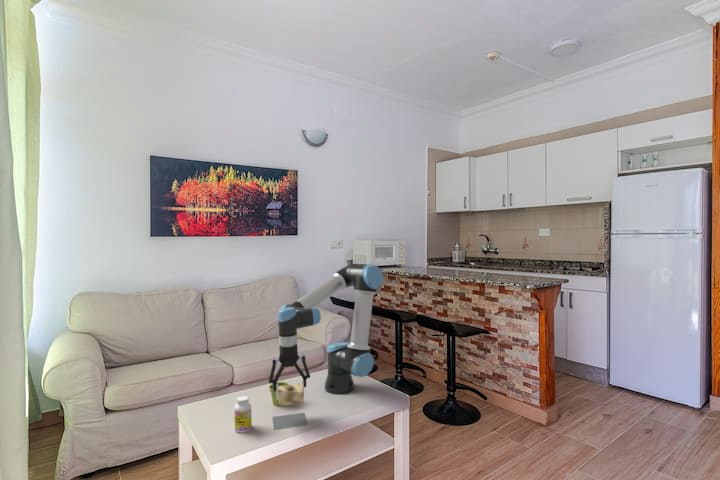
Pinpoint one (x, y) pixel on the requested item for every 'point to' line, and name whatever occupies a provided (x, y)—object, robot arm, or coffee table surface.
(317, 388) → the coffee table surface
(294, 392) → the lid
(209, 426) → the coffee table surface
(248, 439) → the coffee table surface
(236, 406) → the supplement bottle
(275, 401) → the plant pot
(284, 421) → the mat
